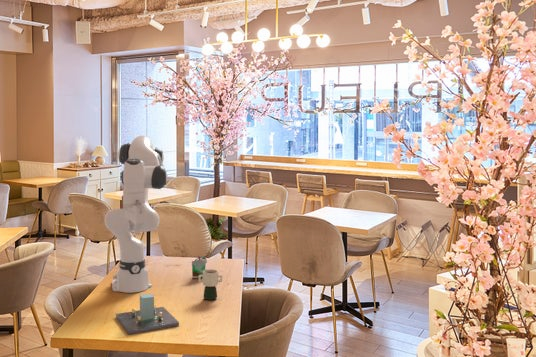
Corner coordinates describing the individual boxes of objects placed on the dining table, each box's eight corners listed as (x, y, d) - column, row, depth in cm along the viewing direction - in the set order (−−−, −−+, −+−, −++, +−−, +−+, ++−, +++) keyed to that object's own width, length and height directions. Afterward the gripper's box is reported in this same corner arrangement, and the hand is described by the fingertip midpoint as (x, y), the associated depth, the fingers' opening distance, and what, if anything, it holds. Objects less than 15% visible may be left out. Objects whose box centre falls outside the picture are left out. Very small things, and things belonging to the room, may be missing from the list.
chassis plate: (116, 317, 216) (115, 306, 215) (163, 310, 225) (163, 299, 225) (128, 334, 198) (128, 323, 198) (178, 325, 208) (179, 314, 207)
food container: (203, 281, 269) (203, 261, 268) (191, 280, 270) (191, 261, 269) (209, 274, 281) (209, 256, 280) (198, 273, 282) (198, 255, 281)
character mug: (222, 296, 245) (222, 269, 244) (221, 301, 238) (222, 273, 237) (198, 296, 244) (199, 269, 243) (197, 301, 237) (198, 273, 236)
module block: (139, 316, 212) (139, 295, 212) (150, 314, 215) (150, 293, 214) (142, 320, 209) (142, 298, 208) (154, 318, 211) (154, 296, 210)
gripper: (149, 201, 208) (149, 236, 209) (135, 195, 226) (135, 226, 227) (133, 202, 205) (133, 237, 206) (120, 195, 223) (120, 228, 224)
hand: (134, 231), depth 217 cm, fingers open, 8 cm apart
